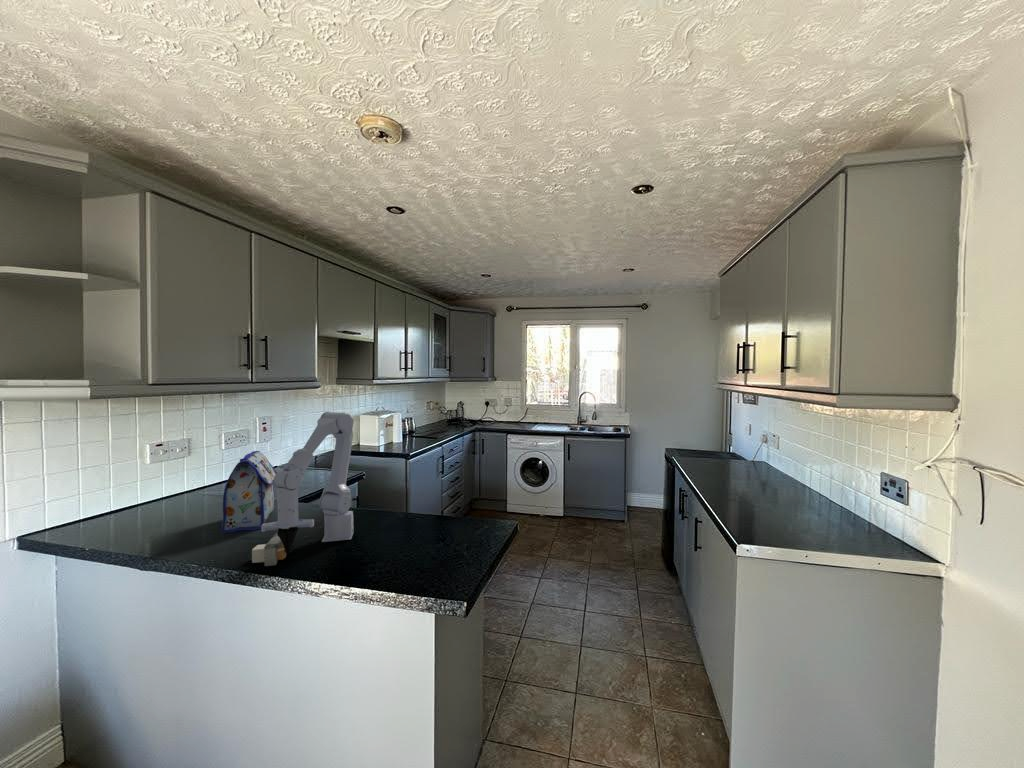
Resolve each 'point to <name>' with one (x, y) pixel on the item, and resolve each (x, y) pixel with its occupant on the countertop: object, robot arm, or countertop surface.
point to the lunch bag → (248, 494)
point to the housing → (272, 550)
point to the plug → (259, 554)
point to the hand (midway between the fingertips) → (288, 551)
